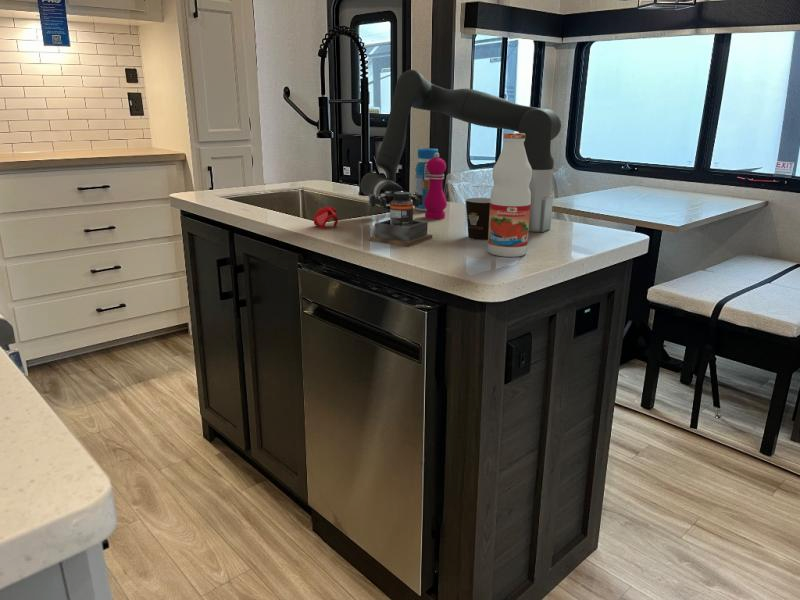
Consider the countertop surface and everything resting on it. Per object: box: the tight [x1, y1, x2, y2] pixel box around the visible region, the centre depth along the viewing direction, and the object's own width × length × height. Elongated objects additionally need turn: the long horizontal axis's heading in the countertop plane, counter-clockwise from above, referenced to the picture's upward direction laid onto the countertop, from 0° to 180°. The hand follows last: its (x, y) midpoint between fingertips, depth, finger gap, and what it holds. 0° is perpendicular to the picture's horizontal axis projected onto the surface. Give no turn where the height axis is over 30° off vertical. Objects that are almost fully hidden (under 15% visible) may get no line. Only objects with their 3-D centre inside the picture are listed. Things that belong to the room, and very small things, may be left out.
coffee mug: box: [465, 197, 491, 241], centre depth 163 cm, size 12×9×10 cm
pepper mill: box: [424, 152, 448, 220], centre depth 191 cm, size 7×7×20 cm
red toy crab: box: [313, 206, 339, 229], centre depth 176 cm, size 8×6×6 cm
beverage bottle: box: [414, 147, 439, 212], centre depth 205 cm, size 8×8×20 cm
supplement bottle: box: [389, 191, 414, 227], centre depth 160 cm, size 6×6×11 cm
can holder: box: [369, 219, 433, 248], centre depth 161 cm, size 12×12×4 cm
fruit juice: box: [487, 132, 532, 258], centre depth 144 cm, size 9×9×28 cm
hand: (401, 203), depth 160 cm, fingers open, 8 cm apart
